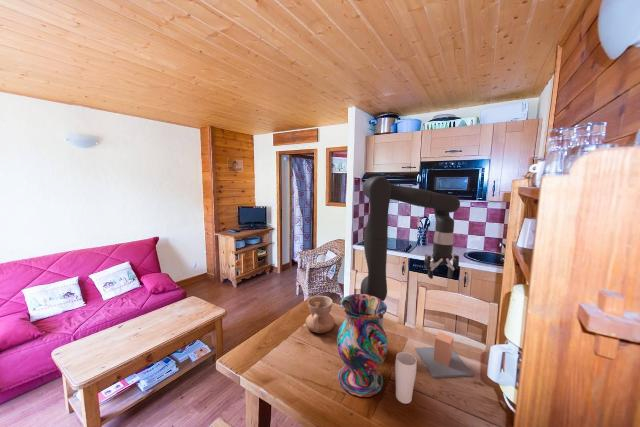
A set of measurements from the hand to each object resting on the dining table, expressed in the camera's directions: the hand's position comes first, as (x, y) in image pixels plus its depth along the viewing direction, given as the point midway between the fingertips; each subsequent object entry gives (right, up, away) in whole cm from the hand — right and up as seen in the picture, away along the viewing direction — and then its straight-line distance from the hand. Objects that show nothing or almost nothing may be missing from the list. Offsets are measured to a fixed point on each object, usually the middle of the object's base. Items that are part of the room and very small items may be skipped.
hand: (440, 278), depth 110 cm
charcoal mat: (-2, -33, -5) cm, 34 cm away
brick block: (-2, -32, -6) cm, 33 cm away
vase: (-37, -34, -15) cm, 53 cm away
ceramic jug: (-52, -30, +17) cm, 63 cm away
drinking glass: (-24, -36, -23) cm, 48 cm away
